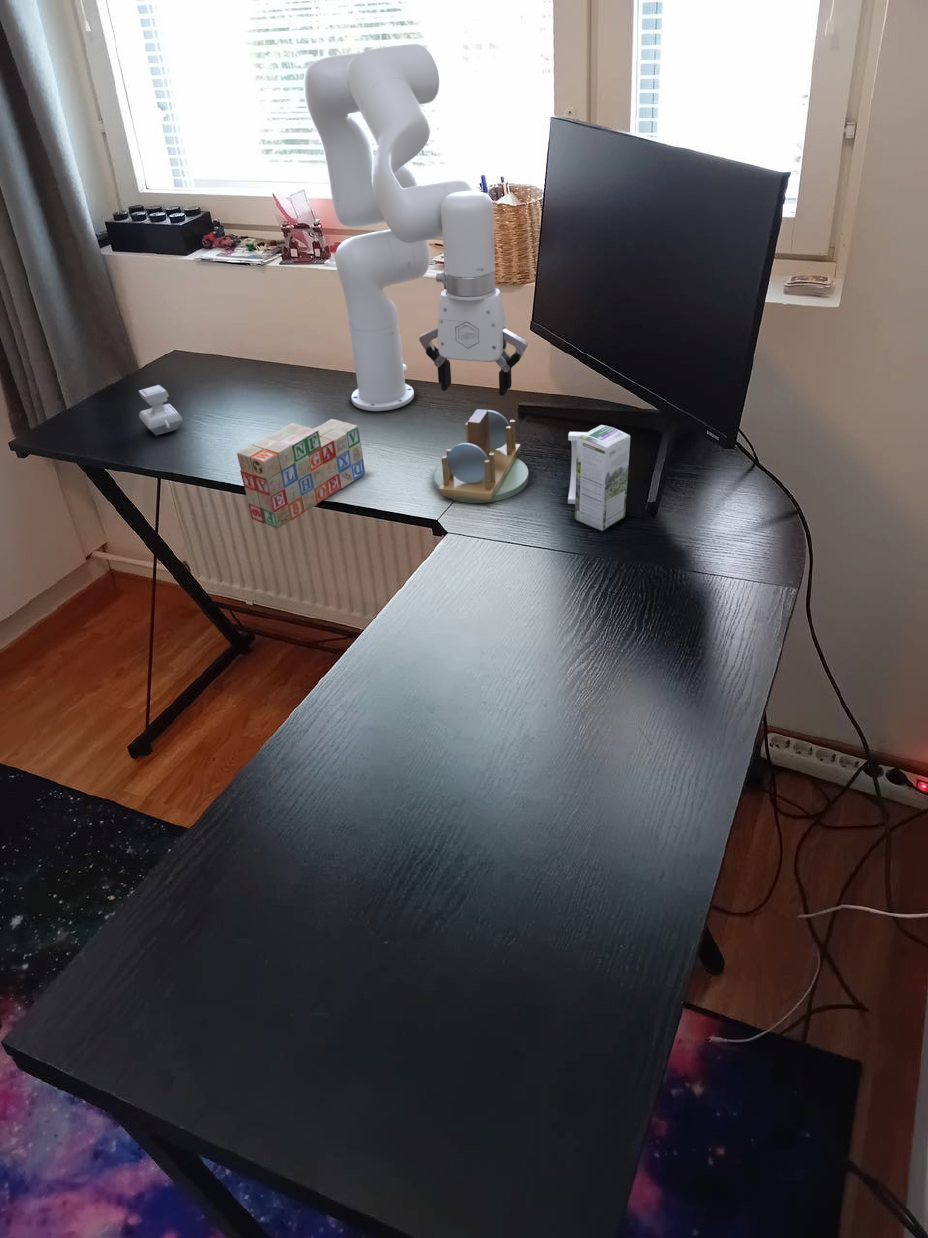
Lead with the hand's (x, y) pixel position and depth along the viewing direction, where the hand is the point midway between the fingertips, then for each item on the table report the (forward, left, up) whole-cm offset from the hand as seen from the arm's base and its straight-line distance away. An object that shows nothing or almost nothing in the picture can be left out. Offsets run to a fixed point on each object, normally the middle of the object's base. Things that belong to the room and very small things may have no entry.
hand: (475, 389), depth 151 cm
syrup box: (+9, +22, -16) cm, 29 cm away
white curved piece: (+2, +18, -16) cm, 25 cm away
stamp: (-8, -67, -16) cm, 69 cm away
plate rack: (0, 0, -15) cm, 15 cm away
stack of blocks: (+11, -27, -16) cm, 33 cm away
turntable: (0, 0, -16) cm, 16 cm away
